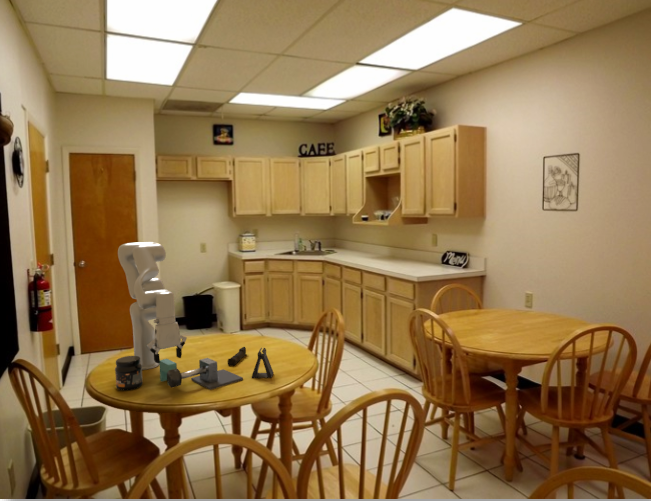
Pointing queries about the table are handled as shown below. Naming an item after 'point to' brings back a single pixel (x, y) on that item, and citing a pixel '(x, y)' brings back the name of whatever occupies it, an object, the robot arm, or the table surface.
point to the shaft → (181, 376)
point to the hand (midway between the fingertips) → (168, 360)
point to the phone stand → (266, 363)
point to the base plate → (219, 379)
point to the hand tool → (237, 357)
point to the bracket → (209, 370)
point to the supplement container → (128, 373)
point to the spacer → (166, 368)
